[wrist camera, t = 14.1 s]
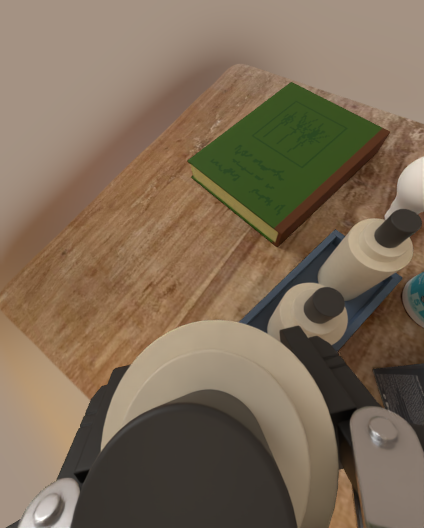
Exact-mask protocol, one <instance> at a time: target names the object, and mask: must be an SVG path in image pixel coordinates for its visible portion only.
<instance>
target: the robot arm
mask: <svg viewBox="0 0 424 528" xmlns="http://www.w3.org/2000/svg"><path fill="white" fill-rule="evenodd" d="M279 334H280V341H281V343H282V344H283V345H284V346H286V347H287V348H288V349H289V350H290V351H291V352H292V353H293V354H294V355H295V356H296V357H297V358H298V359H299V360H300V361H301V363H302V364H303V365H304V366H305V367H306V369H307V370H308V372H309V373H310V375H311V376H312V377H313V379H314V381H315V382H316V384H317V386H318V388H319V390H320V391H321V393H322V395H323V398H324V400H325V403H326V405H327V407H328V410H329V414H330V416H331V420H332V423H333V426H334V431H335V436H336V442H337V448H338V463H339V469H344V470H345V472H346V474H347V476H348V478H349V480H350V482H351V484H352V496H353V503H354V511H355V518H356V526H357V528H424V426H423V425H416V424H412V423H409V422H407V421H405V420H404V419H403V418H402V417H400V416H399V415H398V414H396V413H394V412H392V411H390V410H388V409H385V408H383V407H381V406H380V404H379V403H378V402H377V401H376V400H375V399H374V397H373V396H372V395H371V394H370V392H369V391H368V390H367V389H366V387H365V386H364V385H363V384H362V383H361V381H360V380H359V379H358V378H357V376H356V375H355V374H354V373H353V371H352V370H351V369H350V368H349V366H348V365H346V363H345V361H344V360H343V359H342V358H341V357H340V356H339V355H338V353H337V352H336V350H335V349H334V348H333V347H332V345H331V344H330V343H329V342H327V341H325V340H324V339H322V338H320V337H319V336H313V337H309V338H308V337H307V335H306V334H305V333H304V331H303V330H302V328H301V327H300V326H299V325H298V326H294V327H289V328H285V329H281V330H280V331H279ZM130 366H131V365H127V366H123V367H119V368H115V369H114V370H113V372H112V374H111V377H110V379H109V382H108V384H107V385H104V386H101V388H100V389H99V390H98V391H97V393H96V394H95V395H94V396H93V398H92V399H91V401H90V403H89V406H88V408H87V410H86V413H85V416H84V417H83V420H82V422H81V424H80V428H79V429H78V431H77V433H76V436H75V438H74V440H73V443H72V445H71V447H70V450H69V452H68V454H67V457H66V459H65V462H64V464H63V466H62V468H61V471H60V473H59V475H58V478H57V480H56V481H55V482H53V483H51V484H50V485H48V486H47V487H45V489H43V490H42V491H41V492H40V493H39V494H38V495H37V496H36V497H35V498H34V499H33V500H32V502H31V503H30V504H29V506H28V507H27V509H26V510H25V512H24V514H23V515H22V518H21V519H20V520H18V521H17V522H15V523H13V524H12V525H10V526H8V527H6V528H70V526H71V521H72V518H73V514H74V510H75V506H76V503H77V500H78V497H79V494H80V491H81V489H82V486H83V483H84V481H85V479H86V477H87V475H88V473H89V471H90V468H91V467H92V465H93V463H94V462H95V460H96V458H97V457H98V455H99V454H100V452H101V442H102V435H103V428H104V424H105V420H106V416H107V412H108V409H109V406H110V403H111V400H112V398H113V395H114V393H115V391H116V389H117V387H118V385H119V383H120V381H121V379H122V378H123V376H124V374H125V373H126V371H127V370H128V368H129V367H130Z"/></svg>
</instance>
